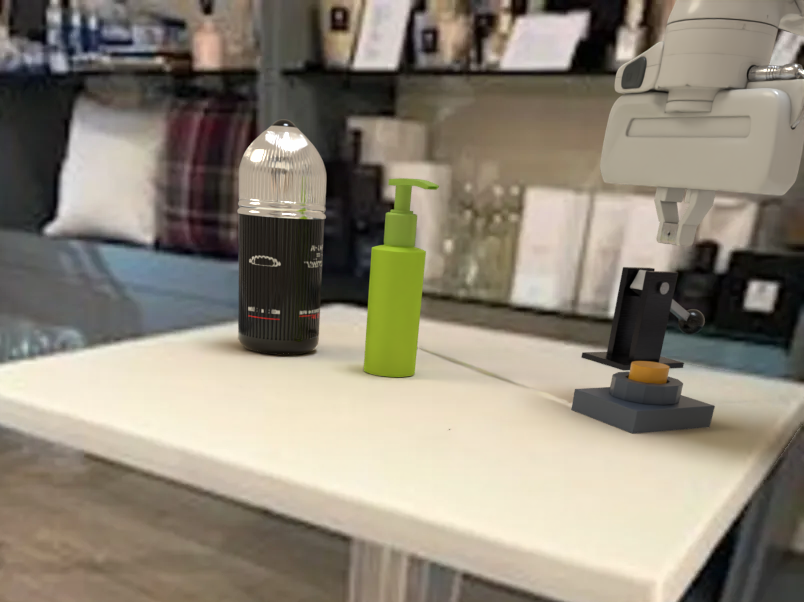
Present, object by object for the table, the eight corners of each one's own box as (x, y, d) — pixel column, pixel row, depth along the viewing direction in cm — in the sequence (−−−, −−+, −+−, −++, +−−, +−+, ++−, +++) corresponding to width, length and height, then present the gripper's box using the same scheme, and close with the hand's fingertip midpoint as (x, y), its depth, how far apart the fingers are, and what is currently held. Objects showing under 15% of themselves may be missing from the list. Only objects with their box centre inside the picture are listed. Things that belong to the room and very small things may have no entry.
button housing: (645, 405, 93) (653, 367, 91) (709, 427, 86) (719, 387, 84) (570, 410, 89) (577, 370, 87) (632, 434, 81) (641, 391, 80)
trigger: (682, 336, 116) (695, 314, 116) (700, 341, 114) (714, 318, 113) (624, 290, 109) (638, 265, 108) (643, 293, 106) (656, 268, 106)
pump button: (647, 377, 88) (651, 360, 87) (673, 386, 85) (677, 367, 84) (620, 379, 86) (623, 361, 85) (646, 387, 83) (649, 369, 83)
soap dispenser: (399, 381, 96) (417, 179, 87) (353, 369, 100) (364, 175, 91) (432, 375, 100) (451, 181, 91) (385, 364, 104) (400, 177, 95)
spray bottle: (331, 347, 111) (343, 125, 100) (301, 360, 102) (310, 118, 92) (257, 338, 114) (261, 120, 103) (222, 349, 105) (221, 113, 94)
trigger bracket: (638, 359, 118) (657, 266, 113) (682, 372, 112) (704, 274, 106) (580, 361, 114) (597, 265, 108) (622, 374, 107) (642, 273, 102)
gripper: (845, 66, 67) (792, 258, 73) (655, 79, 83) (624, 235, 89) (789, 55, 64) (739, 256, 70) (604, 71, 81) (576, 233, 87)
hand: (673, 244), depth 80 cm, fingers closed
